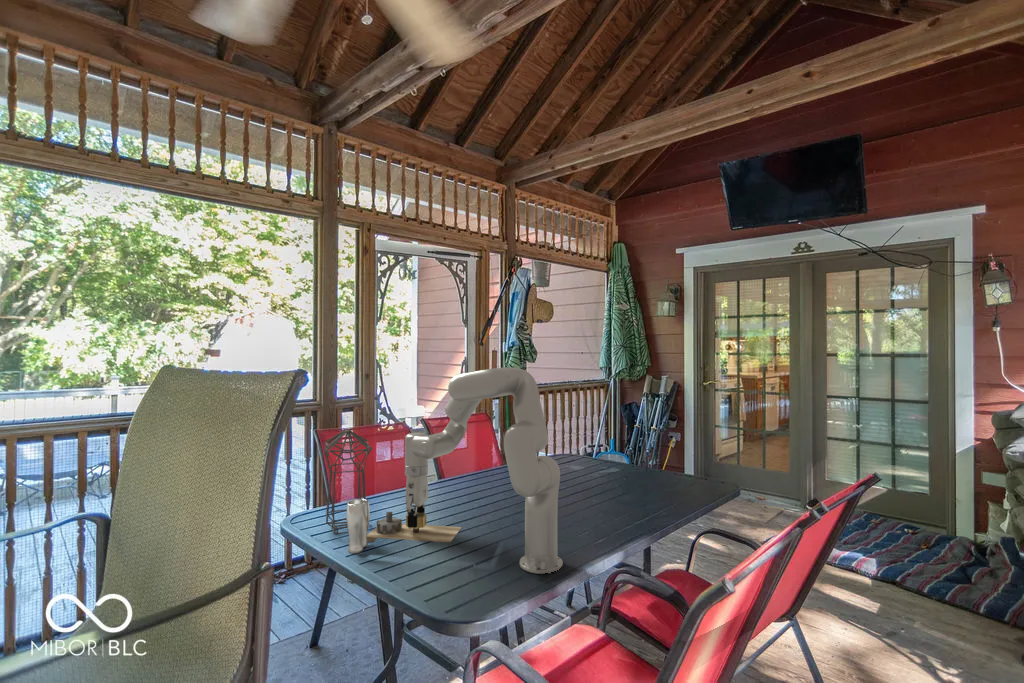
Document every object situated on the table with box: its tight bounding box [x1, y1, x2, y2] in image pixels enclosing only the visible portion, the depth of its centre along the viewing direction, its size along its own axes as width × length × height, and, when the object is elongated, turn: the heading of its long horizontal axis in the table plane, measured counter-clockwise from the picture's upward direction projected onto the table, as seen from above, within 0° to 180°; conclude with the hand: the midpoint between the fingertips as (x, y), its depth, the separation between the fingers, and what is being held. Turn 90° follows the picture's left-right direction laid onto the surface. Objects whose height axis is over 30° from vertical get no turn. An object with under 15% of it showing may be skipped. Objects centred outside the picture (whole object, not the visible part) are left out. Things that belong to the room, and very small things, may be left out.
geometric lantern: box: [322, 429, 373, 535], centre depth 180 cm, size 16×16×35 cm
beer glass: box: [346, 498, 371, 554], centre depth 162 cm, size 7×7×15 cm
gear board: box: [367, 511, 462, 543], centre depth 174 cm, size 14×29×8 cm, turn 81°
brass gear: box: [405, 512, 427, 529], centre depth 174 cm, size 7×7×4 cm
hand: (416, 522), depth 174 cm, fingers closed on brass gear, 6 cm apart
